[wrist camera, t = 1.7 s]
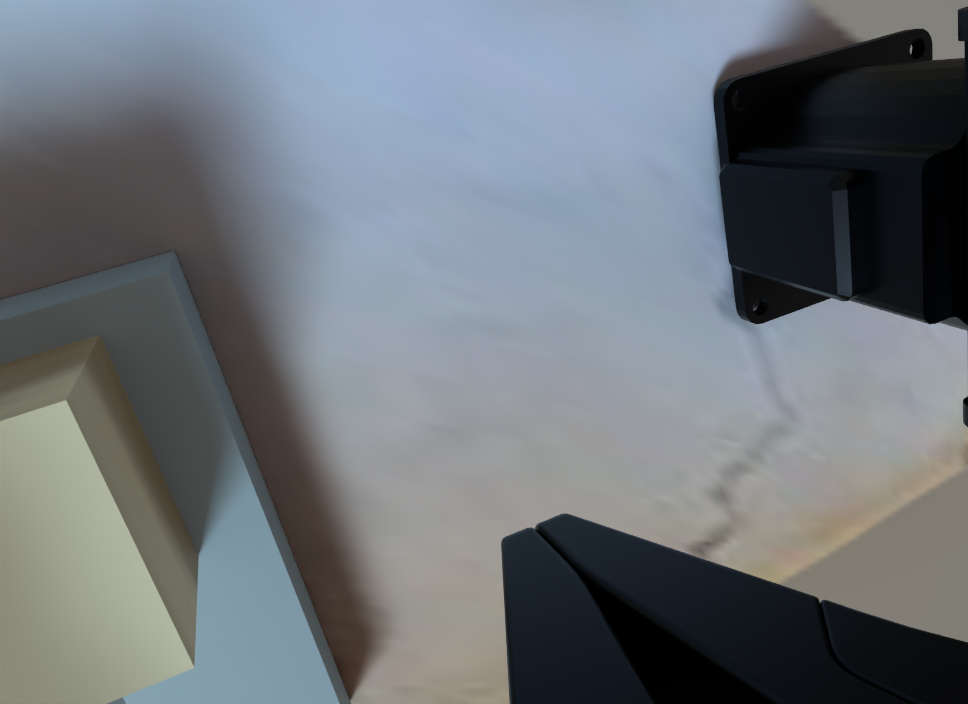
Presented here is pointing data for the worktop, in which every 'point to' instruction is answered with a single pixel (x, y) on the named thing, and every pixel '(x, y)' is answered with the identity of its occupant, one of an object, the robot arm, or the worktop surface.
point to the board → (195, 482)
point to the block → (86, 538)
